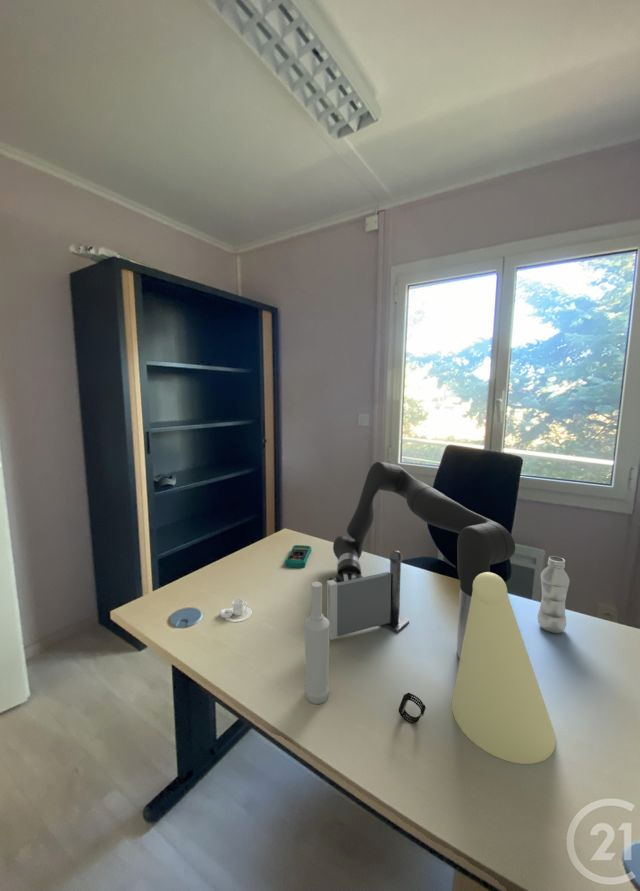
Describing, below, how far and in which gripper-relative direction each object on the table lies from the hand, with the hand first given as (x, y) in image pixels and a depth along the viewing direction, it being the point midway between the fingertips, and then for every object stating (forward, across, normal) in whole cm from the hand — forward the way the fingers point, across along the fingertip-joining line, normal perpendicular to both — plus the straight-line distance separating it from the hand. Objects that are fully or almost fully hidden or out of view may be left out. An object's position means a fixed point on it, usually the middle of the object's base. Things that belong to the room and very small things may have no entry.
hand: (350, 599), depth 100 cm
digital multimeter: (-42, -19, +9) cm, 47 cm away
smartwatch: (+29, +11, +8) cm, 32 cm away
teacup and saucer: (-6, -35, +9) cm, 36 cm away
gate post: (-2, +12, +8) cm, 15 cm away
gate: (+3, +2, +7) cm, 8 cm away
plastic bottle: (-1, +54, +8) cm, 55 cm away
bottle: (+24, -8, +8) cm, 26 cm away
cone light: (+30, +27, +8) cm, 41 cm away
